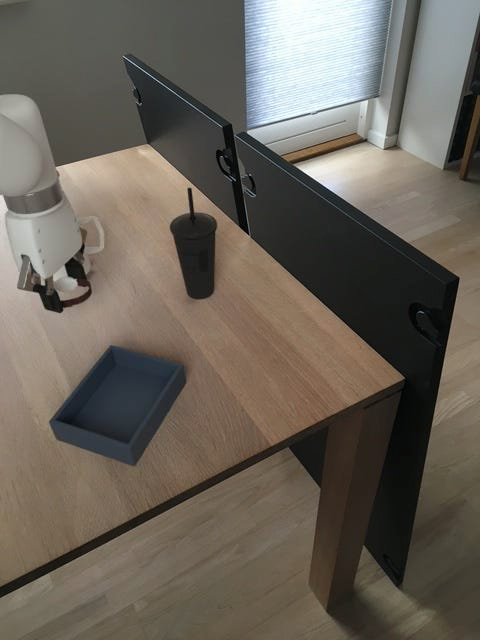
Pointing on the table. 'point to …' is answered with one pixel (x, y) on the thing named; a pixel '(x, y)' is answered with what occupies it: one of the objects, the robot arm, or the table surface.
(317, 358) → the table surface
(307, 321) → the table surface
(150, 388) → the tray
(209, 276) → the drinking cup
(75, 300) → the watch
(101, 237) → the cup
